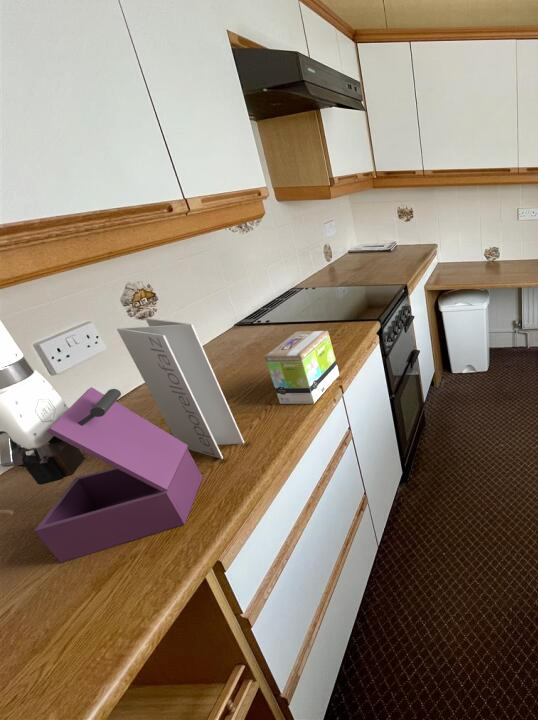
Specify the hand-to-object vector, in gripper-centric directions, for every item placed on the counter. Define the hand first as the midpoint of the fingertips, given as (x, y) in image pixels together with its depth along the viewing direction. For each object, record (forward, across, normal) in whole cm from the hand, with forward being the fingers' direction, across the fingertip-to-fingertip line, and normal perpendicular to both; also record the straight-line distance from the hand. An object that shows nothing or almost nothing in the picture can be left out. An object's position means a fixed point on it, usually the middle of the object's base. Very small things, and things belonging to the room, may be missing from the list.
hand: (61, 469), depth 68 cm
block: (0, 0, 0) cm, 0 cm away
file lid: (-2, 0, -9) cm, 10 cm away
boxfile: (+14, 0, -5) cm, 15 cm away
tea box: (+14, +34, -34) cm, 50 cm away
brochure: (+14, +18, -13) cm, 27 cm away
